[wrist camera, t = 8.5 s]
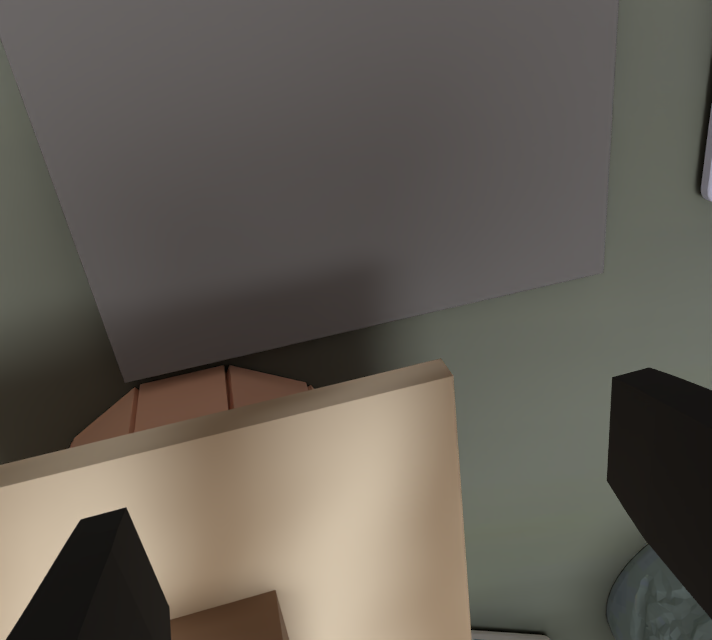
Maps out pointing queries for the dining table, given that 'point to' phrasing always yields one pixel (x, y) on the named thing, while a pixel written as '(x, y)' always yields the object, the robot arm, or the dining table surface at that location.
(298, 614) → the lid
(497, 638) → the container
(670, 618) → the dark green cup
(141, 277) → the mat
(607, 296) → the dining table surface
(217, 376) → the bowl
